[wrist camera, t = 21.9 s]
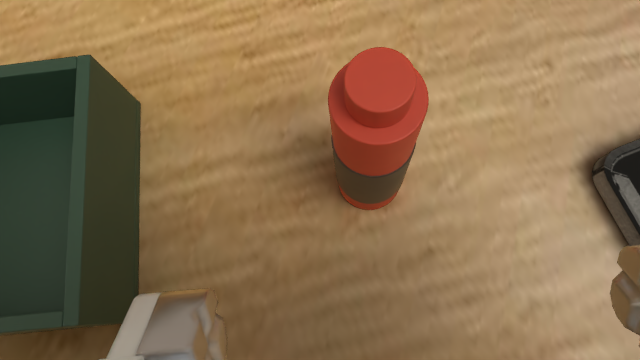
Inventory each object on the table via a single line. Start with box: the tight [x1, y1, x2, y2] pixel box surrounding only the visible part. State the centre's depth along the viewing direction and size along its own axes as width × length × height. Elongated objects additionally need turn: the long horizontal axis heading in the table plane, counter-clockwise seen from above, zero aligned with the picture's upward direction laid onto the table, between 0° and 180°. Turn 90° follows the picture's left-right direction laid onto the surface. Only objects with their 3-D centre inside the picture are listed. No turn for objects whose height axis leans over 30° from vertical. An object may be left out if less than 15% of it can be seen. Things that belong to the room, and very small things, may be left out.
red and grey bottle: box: [328, 47, 428, 210], centre depth 18 cm, size 3×3×10 cm
